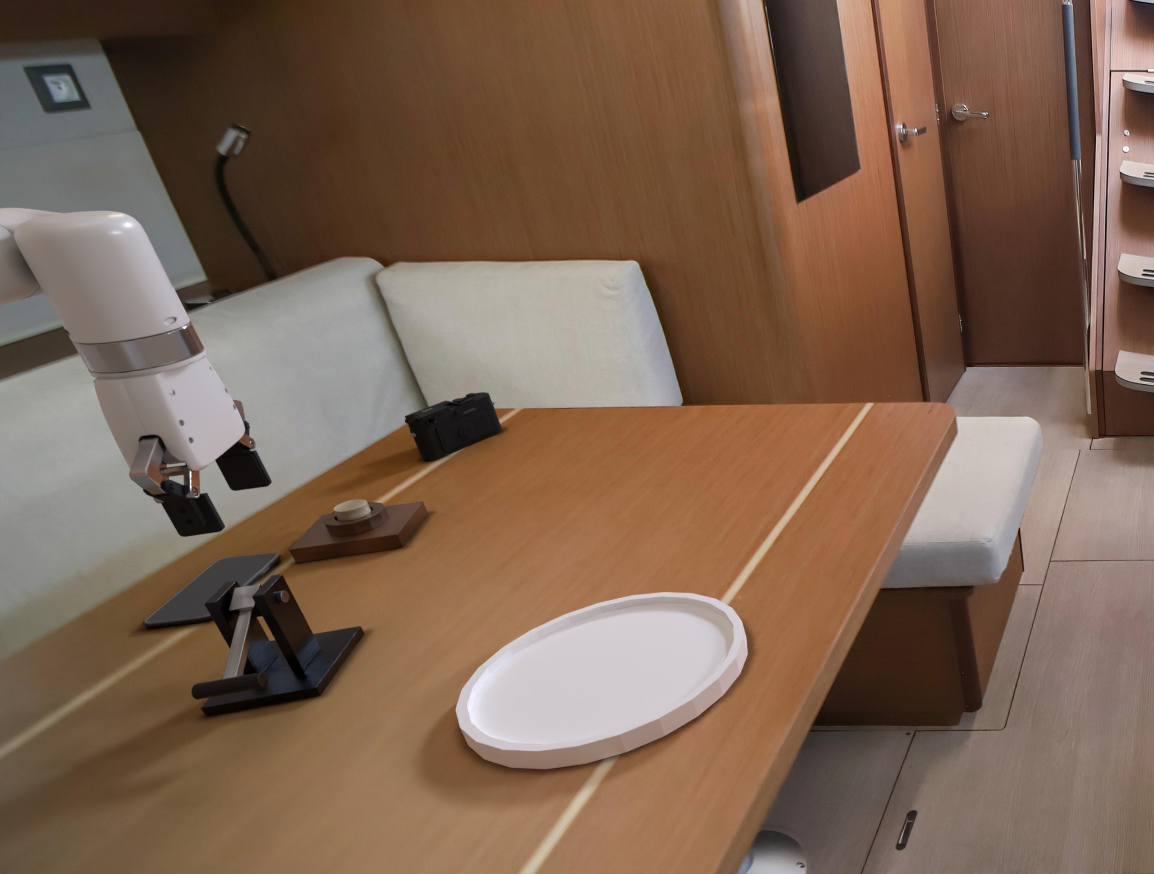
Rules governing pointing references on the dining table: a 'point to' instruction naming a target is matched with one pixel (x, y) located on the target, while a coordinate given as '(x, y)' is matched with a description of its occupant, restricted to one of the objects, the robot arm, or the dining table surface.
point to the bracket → (280, 648)
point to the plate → (602, 680)
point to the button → (352, 509)
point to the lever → (237, 651)
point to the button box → (360, 532)
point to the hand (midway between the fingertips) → (229, 509)
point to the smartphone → (210, 588)
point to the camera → (453, 425)
